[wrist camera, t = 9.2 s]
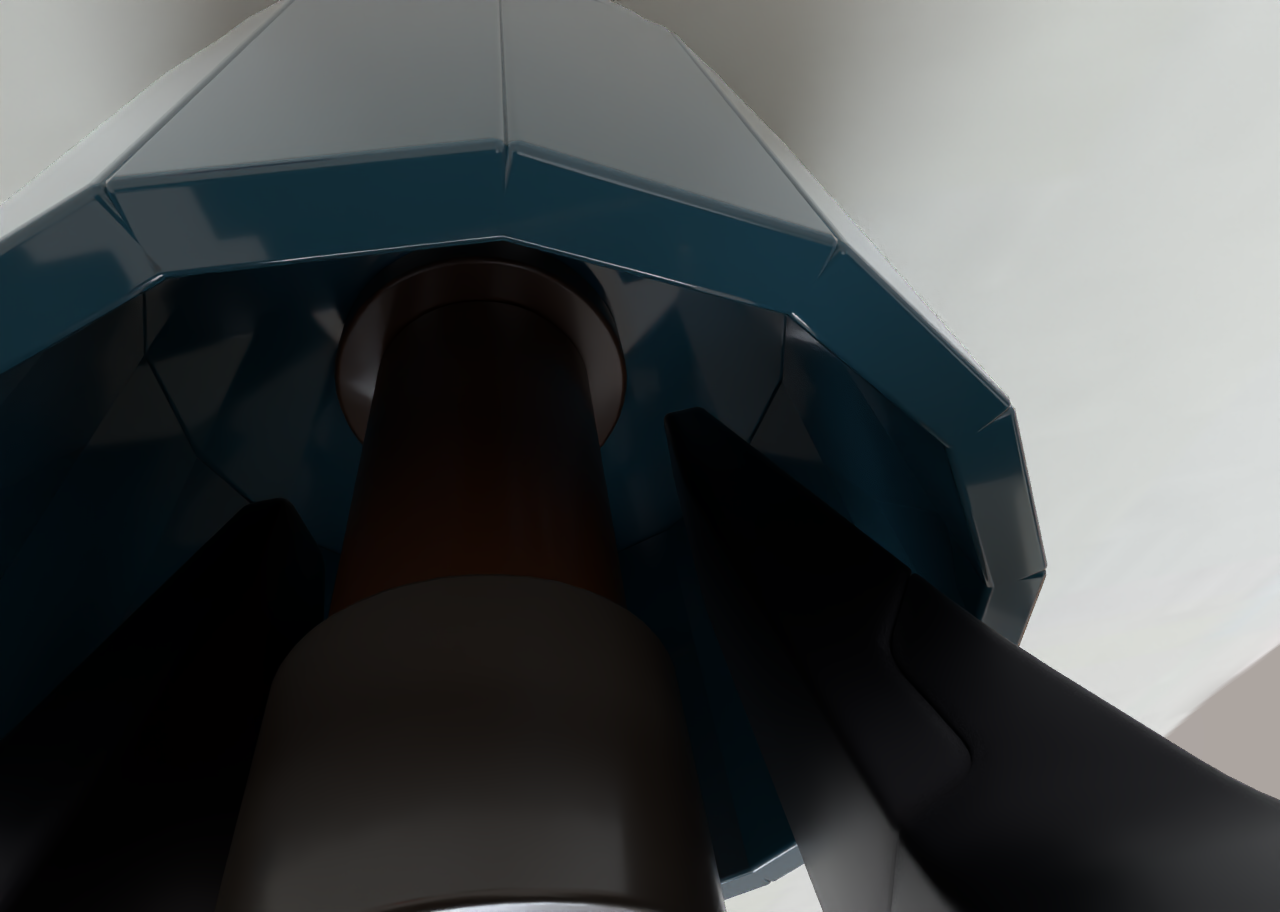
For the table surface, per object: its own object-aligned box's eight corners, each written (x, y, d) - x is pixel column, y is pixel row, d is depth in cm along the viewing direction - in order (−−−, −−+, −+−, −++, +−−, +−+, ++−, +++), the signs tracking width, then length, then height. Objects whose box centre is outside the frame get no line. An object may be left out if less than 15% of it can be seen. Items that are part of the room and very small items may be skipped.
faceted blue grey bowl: (546, 637, 15) (571, 1004, 10) (0, 403, 11) (-384, 866, 6) (932, 289, 12) (1230, 611, 7) (360, -285, 7) (102, -475, 2)
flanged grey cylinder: (515, 509, 12) (536, 1127, 6) (287, 391, 10) (37, 1101, 5) (676, 343, 11) (887, 946, 5) (445, 173, 9) (364, 813, 3)
